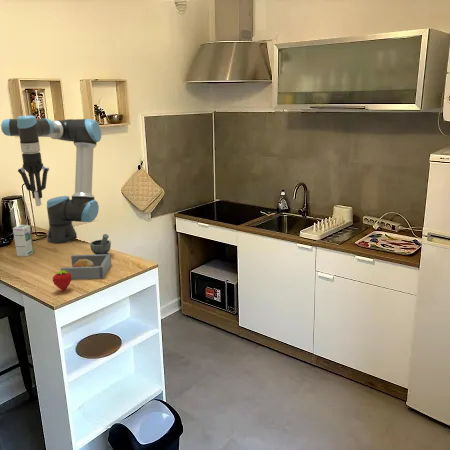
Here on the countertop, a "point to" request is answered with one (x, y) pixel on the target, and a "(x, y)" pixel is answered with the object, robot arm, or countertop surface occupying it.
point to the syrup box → (23, 240)
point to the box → (90, 272)
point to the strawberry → (62, 279)
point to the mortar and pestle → (101, 245)
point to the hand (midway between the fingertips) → (38, 205)
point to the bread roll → (84, 263)
